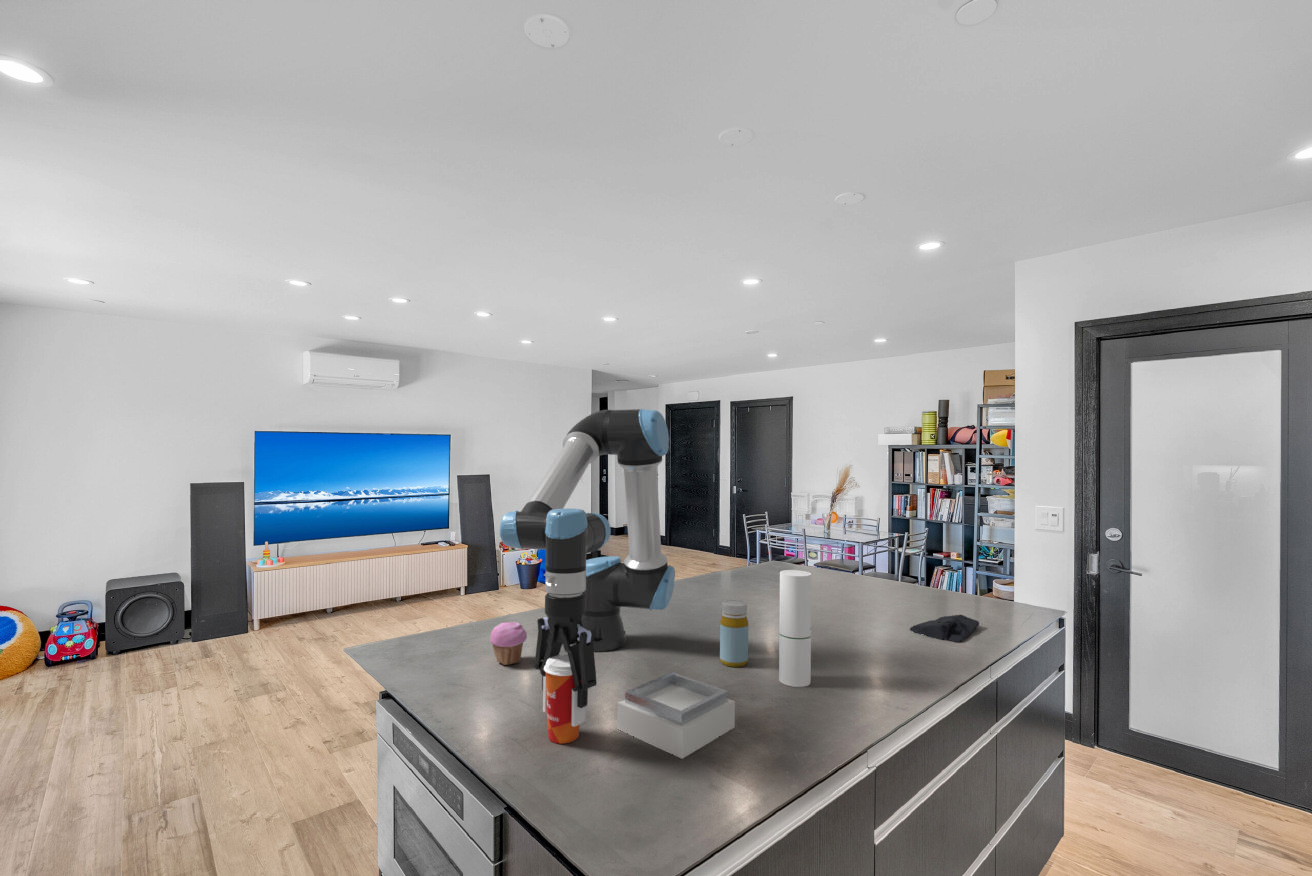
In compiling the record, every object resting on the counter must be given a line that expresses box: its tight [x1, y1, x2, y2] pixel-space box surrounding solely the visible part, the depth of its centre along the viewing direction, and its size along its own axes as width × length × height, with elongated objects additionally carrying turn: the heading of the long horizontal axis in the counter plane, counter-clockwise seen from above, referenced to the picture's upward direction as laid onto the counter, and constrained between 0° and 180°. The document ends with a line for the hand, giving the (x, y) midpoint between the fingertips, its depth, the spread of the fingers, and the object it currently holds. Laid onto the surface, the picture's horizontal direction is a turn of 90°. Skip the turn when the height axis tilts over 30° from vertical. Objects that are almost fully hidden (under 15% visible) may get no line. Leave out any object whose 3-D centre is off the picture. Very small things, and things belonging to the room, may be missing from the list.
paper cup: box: [544, 654, 582, 745], centre depth 110 cm, size 8×8×14 cm
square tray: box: [616, 671, 736, 760], centre depth 114 cm, size 16×16×7 cm
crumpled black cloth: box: [909, 614, 980, 643], centre depth 179 cm, size 15×22×5 cm
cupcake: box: [489, 621, 528, 666], centre depth 147 cm, size 9×9×10 cm
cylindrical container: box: [778, 569, 812, 688], centre depth 138 cm, size 7×7×25 cm
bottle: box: [719, 599, 749, 668], centre depth 149 cm, size 7×7×15 cm
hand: (563, 716), depth 110 cm, fingers closed on paper cup, 8 cm apart
